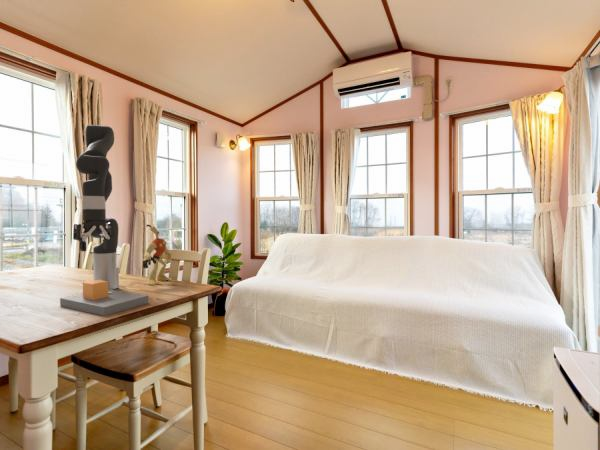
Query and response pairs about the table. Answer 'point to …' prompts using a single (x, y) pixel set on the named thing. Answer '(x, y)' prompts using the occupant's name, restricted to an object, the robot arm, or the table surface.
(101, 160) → the robot arm
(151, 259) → the toy
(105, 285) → the orange cube
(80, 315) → the table surface
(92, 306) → the panel
